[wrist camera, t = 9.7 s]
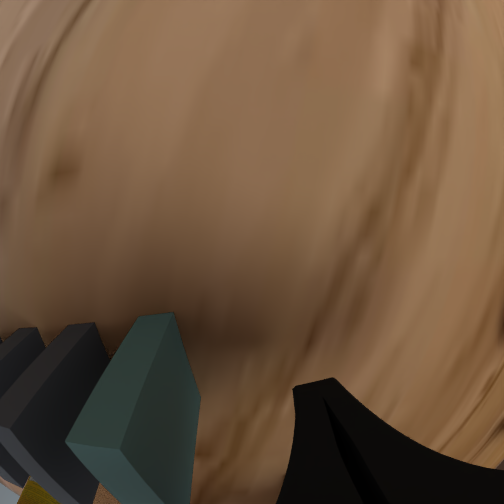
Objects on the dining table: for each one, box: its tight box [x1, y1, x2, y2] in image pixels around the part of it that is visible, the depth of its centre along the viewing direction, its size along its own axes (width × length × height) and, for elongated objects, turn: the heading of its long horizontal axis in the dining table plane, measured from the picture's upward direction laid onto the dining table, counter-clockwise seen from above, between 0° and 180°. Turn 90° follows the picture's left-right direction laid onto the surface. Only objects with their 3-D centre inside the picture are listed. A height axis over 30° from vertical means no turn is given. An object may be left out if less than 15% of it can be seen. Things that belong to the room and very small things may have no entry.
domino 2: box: [0, 322, 110, 504], centre depth 8 cm, size 2×5×7 cm, turn 9°
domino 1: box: [0, 327, 46, 488], centre depth 8 cm, size 2×5×7 cm, turn 9°
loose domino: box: [65, 312, 201, 504], centre depth 9 cm, size 2×5×7 cm, turn 9°
